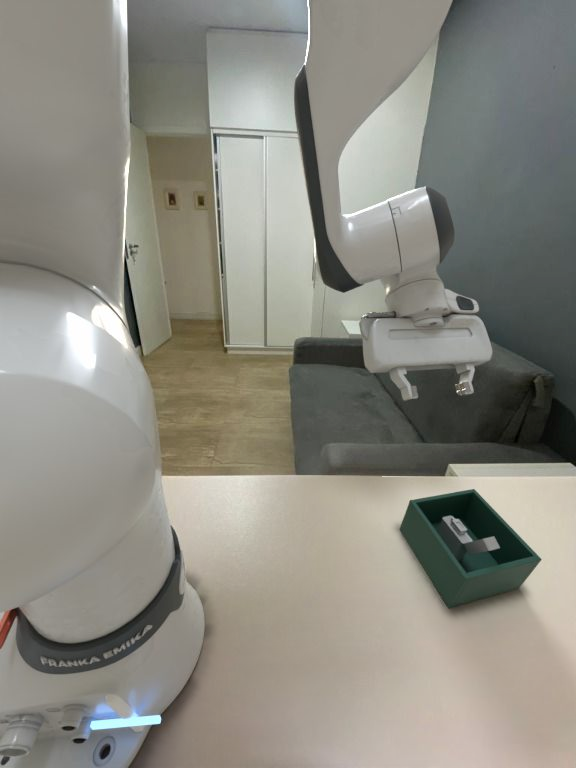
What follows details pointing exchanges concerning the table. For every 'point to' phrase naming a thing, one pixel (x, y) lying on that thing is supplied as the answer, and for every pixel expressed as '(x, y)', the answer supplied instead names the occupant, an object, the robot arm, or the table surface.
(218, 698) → the table surface
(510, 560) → the bin
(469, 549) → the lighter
